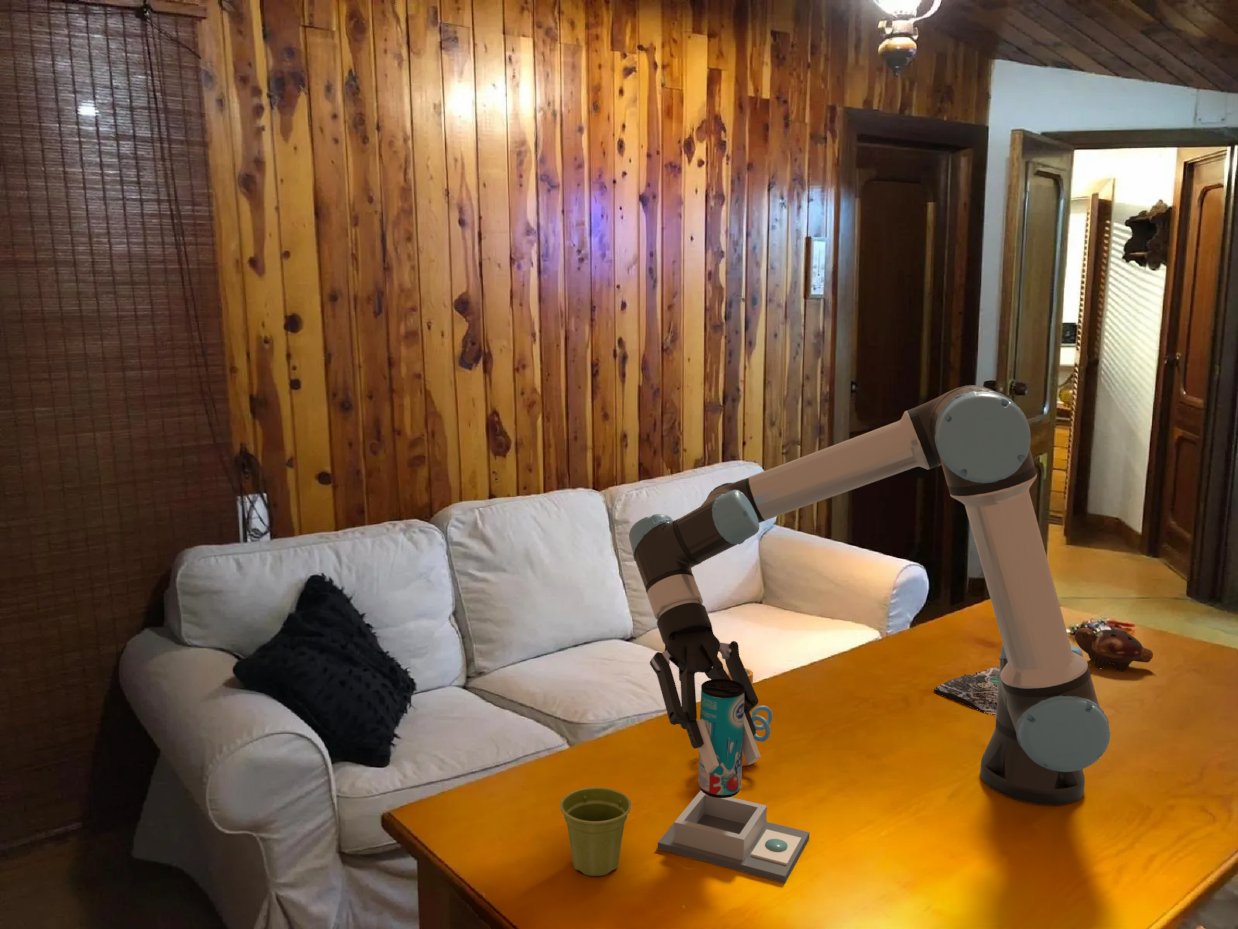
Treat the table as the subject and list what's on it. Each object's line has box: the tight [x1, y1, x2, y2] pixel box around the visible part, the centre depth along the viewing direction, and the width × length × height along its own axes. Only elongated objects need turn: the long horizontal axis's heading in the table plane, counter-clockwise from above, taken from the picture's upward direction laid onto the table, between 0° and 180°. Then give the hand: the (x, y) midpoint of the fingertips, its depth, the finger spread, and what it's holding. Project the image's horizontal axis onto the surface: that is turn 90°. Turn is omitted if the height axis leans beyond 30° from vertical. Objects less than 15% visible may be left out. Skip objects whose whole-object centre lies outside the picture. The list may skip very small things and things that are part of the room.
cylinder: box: [727, 667, 773, 767], centre depth 160 cm, size 12×10×15 cm
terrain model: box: [933, 665, 1000, 716], centre depth 189 cm, size 20×15×3 cm
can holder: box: [657, 790, 810, 884], centre depth 135 cm, size 18×12×4 cm, turn 64°
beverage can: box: [697, 679, 745, 798], centre depth 134 cm, size 6×6×15 cm
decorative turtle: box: [1074, 627, 1154, 672], centre depth 204 cm, size 10×15×8 cm, turn 82°
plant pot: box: [559, 786, 632, 877], centre depth 129 cm, size 9×9×9 cm
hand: (733, 764), depth 131 cm, fingers closed on beverage can, 6 cm apart
